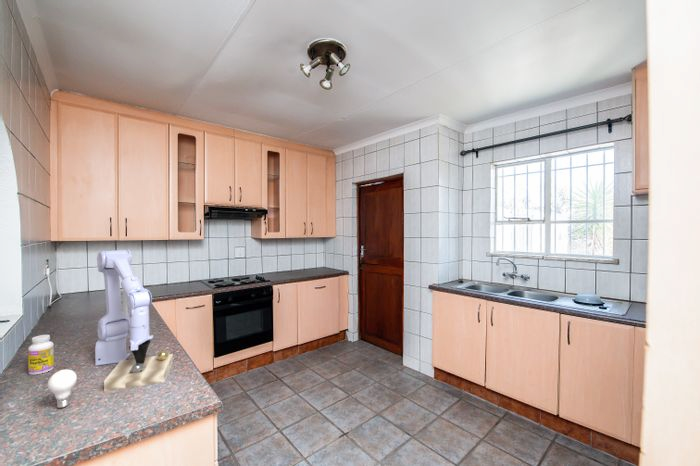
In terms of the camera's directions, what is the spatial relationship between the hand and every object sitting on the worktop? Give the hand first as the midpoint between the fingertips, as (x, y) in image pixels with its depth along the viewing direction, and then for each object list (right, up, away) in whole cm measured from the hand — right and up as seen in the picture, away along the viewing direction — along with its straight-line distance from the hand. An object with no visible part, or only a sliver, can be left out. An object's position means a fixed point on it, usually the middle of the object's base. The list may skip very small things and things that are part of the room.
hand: (140, 363), depth 110 cm
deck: (0, -5, 0) cm, 5 cm away
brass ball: (+5, +1, +5) cm, 7 cm away
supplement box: (-53, -3, +69) cm, 87 cm away
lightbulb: (-10, -5, -19) cm, 22 cm away
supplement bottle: (-39, -5, +4) cm, 39 cm away
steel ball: (+1, 0, -4) cm, 4 cm away
